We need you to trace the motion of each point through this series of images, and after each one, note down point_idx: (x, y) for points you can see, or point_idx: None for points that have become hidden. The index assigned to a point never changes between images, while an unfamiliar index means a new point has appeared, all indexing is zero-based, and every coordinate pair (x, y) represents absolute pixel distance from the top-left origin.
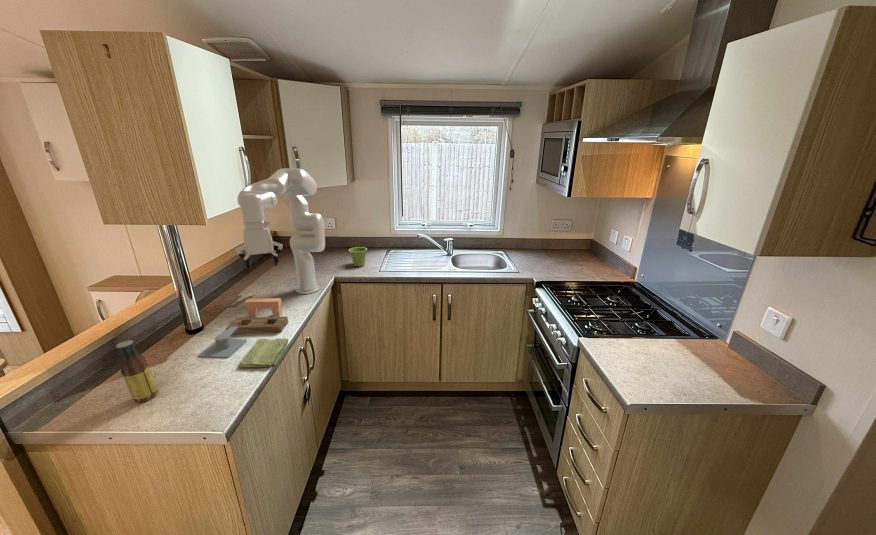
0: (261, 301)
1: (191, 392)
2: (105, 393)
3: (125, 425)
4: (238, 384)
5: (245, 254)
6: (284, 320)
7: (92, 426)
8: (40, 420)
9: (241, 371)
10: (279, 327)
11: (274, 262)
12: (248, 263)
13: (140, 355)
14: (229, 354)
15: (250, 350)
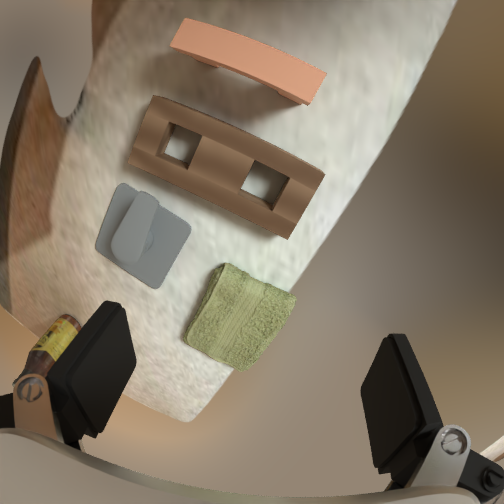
0: (239, 67)
1: None
2: (24, 283)
3: None
4: (191, 374)
5: (14, 415)
6: (310, 200)
7: None
8: (3, 298)
9: (191, 347)
10: (286, 237)
11: (366, 418)
12: (106, 407)
13: (40, 372)
14: (157, 282)
15: (202, 316)
